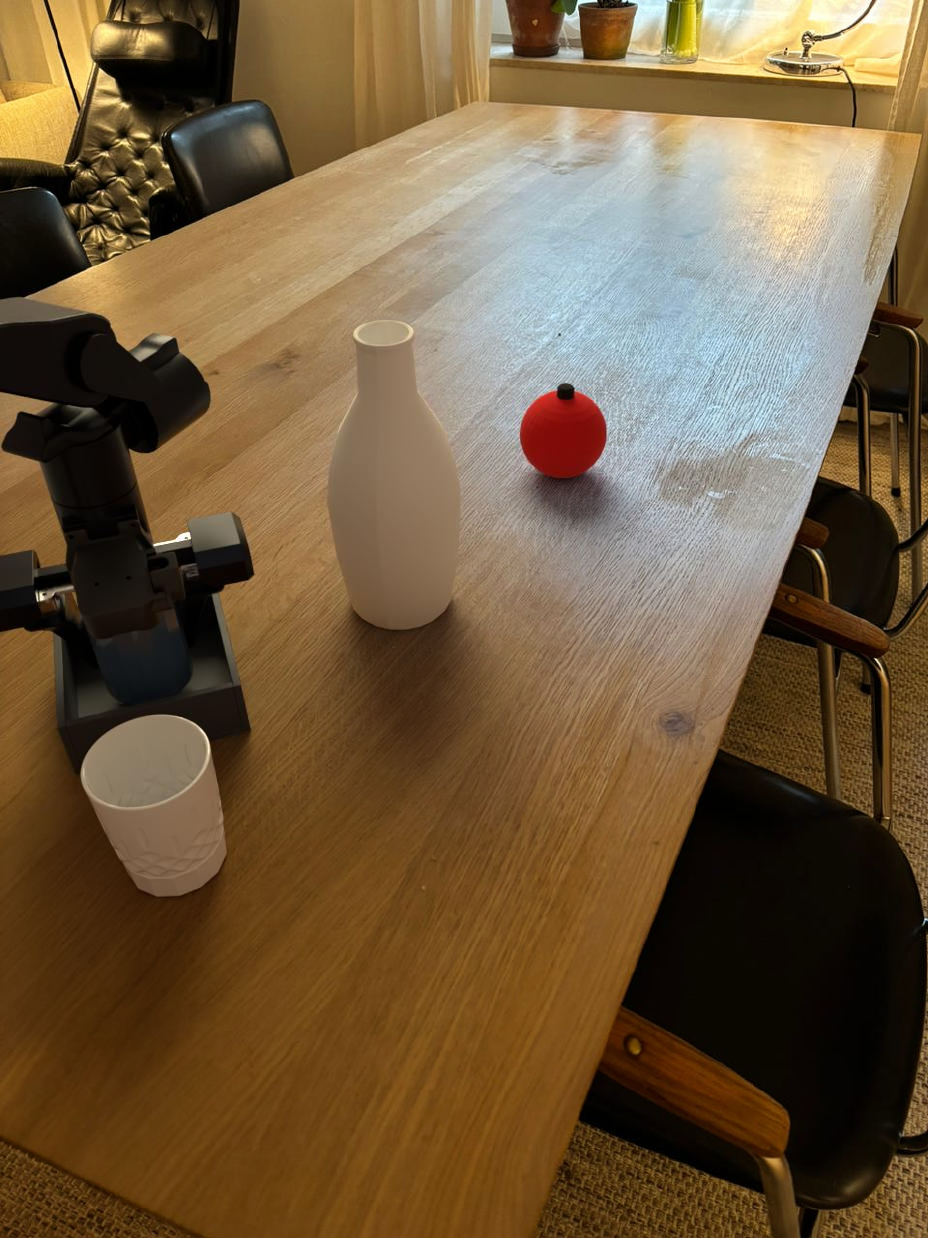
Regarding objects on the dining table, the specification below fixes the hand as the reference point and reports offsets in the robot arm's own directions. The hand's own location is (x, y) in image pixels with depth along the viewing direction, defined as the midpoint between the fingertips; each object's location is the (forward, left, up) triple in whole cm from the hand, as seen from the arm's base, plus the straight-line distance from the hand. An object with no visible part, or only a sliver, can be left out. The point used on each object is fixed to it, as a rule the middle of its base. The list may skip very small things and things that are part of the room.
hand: (144, 654), depth 78 cm
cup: (0, 0, -2) cm, 2 cm away
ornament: (+24, +42, -5) cm, 49 cm away
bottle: (+15, +17, -5) cm, 23 cm away
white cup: (+10, -13, -5) cm, 17 cm away
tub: (0, 0, -4) cm, 5 cm away
